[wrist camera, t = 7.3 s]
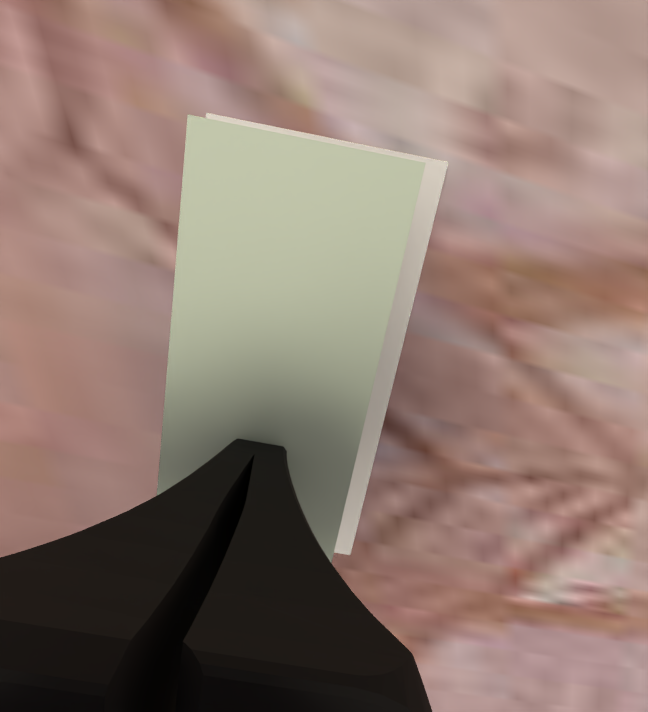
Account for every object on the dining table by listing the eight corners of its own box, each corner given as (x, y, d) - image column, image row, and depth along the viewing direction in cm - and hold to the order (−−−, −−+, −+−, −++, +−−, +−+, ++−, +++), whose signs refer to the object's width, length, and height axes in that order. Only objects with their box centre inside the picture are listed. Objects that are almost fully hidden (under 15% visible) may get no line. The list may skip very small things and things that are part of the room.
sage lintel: (307, 576, 18) (298, 702, 13) (193, 557, 18) (141, 678, 13) (391, 189, 13) (425, 162, 9) (240, 159, 13) (188, 114, 8)
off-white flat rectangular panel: (349, 544, 23) (350, 555, 22) (173, 515, 23) (168, 524, 22) (443, 165, 17) (448, 162, 17) (211, 118, 17) (206, 112, 16)
